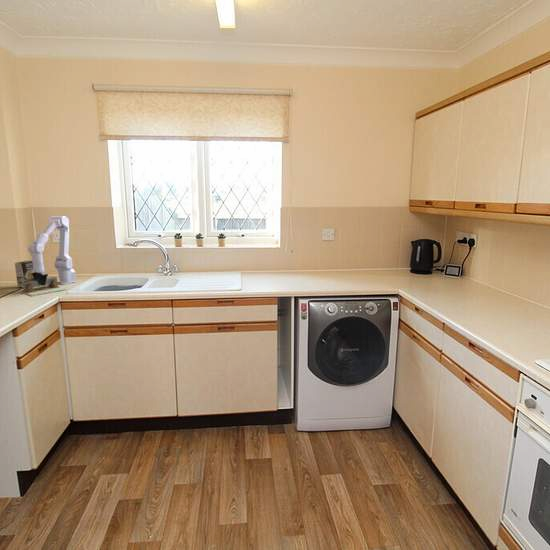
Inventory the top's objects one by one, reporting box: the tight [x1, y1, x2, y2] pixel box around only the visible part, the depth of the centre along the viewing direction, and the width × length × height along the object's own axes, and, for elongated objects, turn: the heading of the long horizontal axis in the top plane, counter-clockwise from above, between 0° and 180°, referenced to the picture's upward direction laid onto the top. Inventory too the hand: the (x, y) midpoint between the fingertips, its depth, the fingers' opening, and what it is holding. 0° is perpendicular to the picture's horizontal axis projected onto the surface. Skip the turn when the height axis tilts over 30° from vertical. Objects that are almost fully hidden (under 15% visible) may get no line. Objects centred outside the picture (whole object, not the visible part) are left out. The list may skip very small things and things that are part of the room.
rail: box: [23, 276, 58, 289], centre depth 246 cm, size 18×4×4 cm, turn 140°
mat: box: [26, 286, 67, 297], centre depth 241 cm, size 20×8×1 cm, turn 140°
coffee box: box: [14, 260, 35, 289], centre depth 255 cm, size 9×6×16 cm
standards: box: [22, 279, 60, 294], centre depth 247 cm, size 18×8×5 cm, turn 140°
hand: (40, 284), depth 246 cm, fingers open, 7 cm apart
